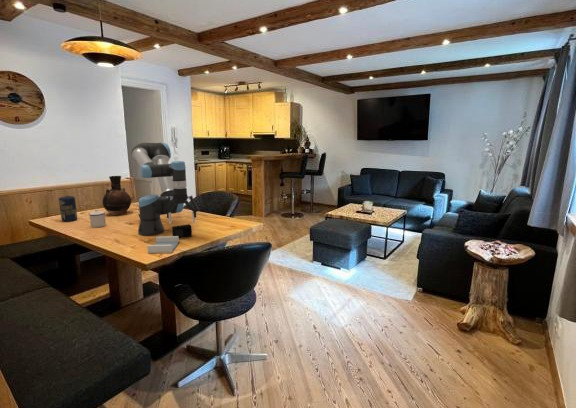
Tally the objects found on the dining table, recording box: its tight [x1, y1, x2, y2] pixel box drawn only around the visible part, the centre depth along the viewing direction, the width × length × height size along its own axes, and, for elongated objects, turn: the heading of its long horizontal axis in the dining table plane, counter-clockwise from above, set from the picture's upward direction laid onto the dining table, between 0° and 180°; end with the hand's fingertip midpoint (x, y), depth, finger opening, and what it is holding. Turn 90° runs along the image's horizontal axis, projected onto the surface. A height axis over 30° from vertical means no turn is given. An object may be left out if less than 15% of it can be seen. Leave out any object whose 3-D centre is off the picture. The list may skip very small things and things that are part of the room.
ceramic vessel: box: [102, 175, 132, 216], centre depth 244 cm, size 21×18×30 cm
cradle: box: [146, 235, 180, 254], centre depth 172 cm, size 12×16×4 cm
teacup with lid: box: [88, 208, 107, 229], centre depth 212 cm, size 12×9×12 cm
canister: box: [58, 195, 78, 222], centre depth 225 cm, size 10×10×18 cm
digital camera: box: [171, 223, 193, 240], centre depth 190 cm, size 10×5×7 cm, turn 124°
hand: (182, 223), depth 188 cm, fingers open, 13 cm apart
